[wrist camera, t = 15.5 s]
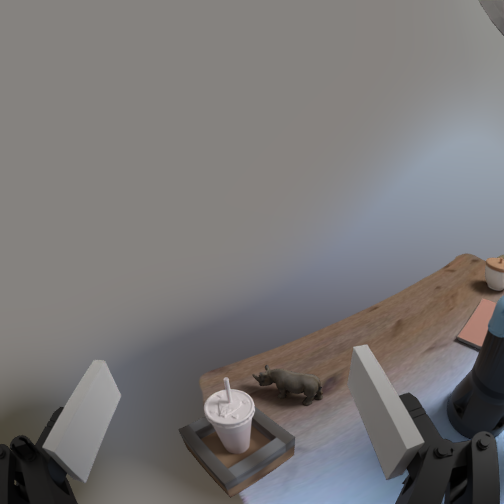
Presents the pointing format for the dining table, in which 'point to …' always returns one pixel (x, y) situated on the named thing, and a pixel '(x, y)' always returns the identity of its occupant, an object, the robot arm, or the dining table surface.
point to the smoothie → (231, 417)
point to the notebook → (477, 324)
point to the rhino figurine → (292, 383)
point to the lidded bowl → (495, 273)
